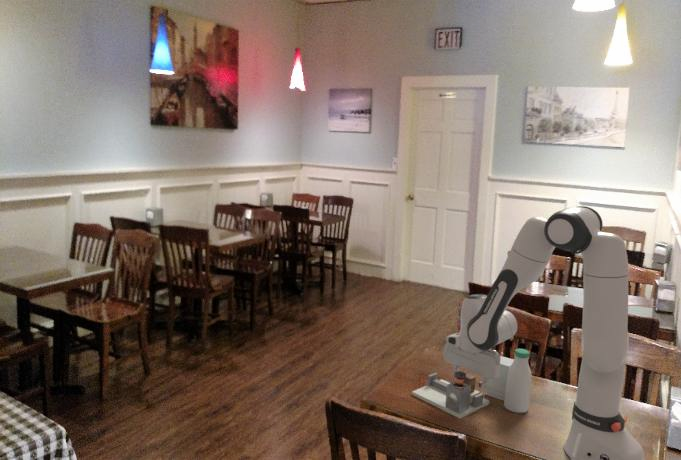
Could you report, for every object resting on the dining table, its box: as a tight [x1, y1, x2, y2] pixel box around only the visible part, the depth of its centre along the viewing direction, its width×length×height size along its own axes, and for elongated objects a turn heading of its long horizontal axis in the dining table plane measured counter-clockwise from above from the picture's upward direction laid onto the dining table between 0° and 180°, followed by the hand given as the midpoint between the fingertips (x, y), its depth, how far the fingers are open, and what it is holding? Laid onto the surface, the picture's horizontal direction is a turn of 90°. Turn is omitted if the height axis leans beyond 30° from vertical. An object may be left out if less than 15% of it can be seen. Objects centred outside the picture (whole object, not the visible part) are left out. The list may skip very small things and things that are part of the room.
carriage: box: [463, 373, 481, 405], centre depth 184 cm, size 6×5×8 cm
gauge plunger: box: [453, 370, 467, 389], centre depth 178 cm, size 4×4×8 cm
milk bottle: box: [503, 348, 533, 414], centre depth 182 cm, size 8×8×20 cm
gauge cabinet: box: [445, 380, 471, 414], centre depth 179 cm, size 5×6×9 cm
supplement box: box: [485, 355, 515, 402], centre depth 192 cm, size 7×7×13 cm
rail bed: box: [411, 372, 490, 420], centre depth 187 cm, size 20×16×5 cm
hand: (469, 382), depth 184 cm, fingers open, 8 cm apart
